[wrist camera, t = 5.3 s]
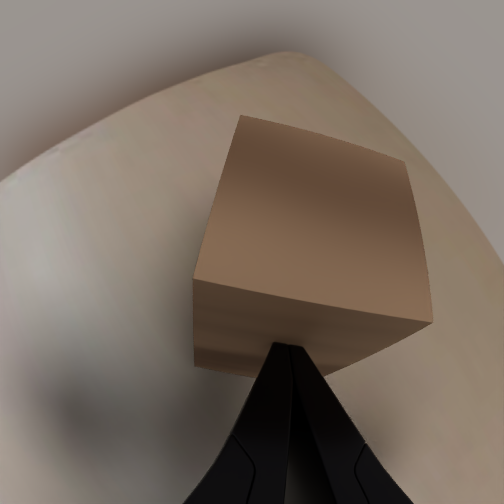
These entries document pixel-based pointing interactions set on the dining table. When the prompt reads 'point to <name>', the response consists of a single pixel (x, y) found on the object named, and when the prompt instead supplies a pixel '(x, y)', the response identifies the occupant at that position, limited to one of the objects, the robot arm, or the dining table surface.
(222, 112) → the dining table surface
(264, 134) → the walnut block
